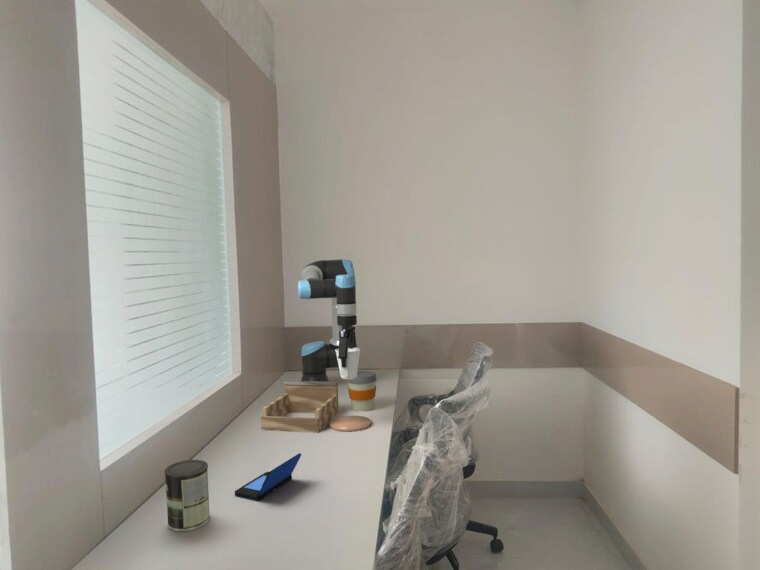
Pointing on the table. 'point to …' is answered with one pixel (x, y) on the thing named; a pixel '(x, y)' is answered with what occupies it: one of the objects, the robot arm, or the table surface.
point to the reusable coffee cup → (362, 390)
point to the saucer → (350, 423)
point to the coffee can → (187, 495)
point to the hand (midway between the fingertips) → (348, 372)
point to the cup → (350, 362)
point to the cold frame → (302, 407)
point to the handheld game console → (268, 481)
